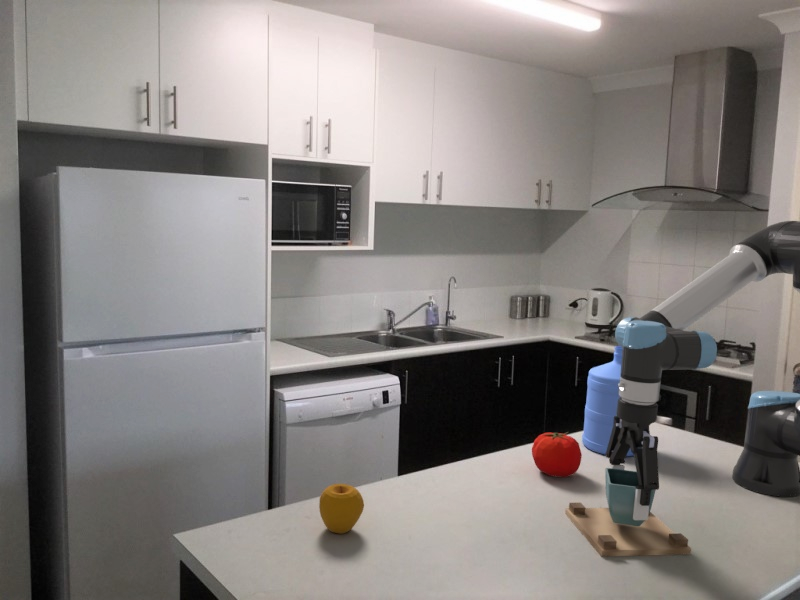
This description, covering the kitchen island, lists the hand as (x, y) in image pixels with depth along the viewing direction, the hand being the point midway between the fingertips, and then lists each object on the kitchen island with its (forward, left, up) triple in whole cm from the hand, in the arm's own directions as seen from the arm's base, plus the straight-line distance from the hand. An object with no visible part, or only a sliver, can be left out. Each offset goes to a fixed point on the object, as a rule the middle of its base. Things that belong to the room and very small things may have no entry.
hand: (626, 506), depth 140 cm
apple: (+57, -4, -6) cm, 57 cm away
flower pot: (0, 0, -3) cm, 3 cm away
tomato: (+3, -31, -6) cm, 32 cm away
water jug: (-20, -49, -6) cm, 53 cm away
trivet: (0, 0, -6) cm, 6 cm away
